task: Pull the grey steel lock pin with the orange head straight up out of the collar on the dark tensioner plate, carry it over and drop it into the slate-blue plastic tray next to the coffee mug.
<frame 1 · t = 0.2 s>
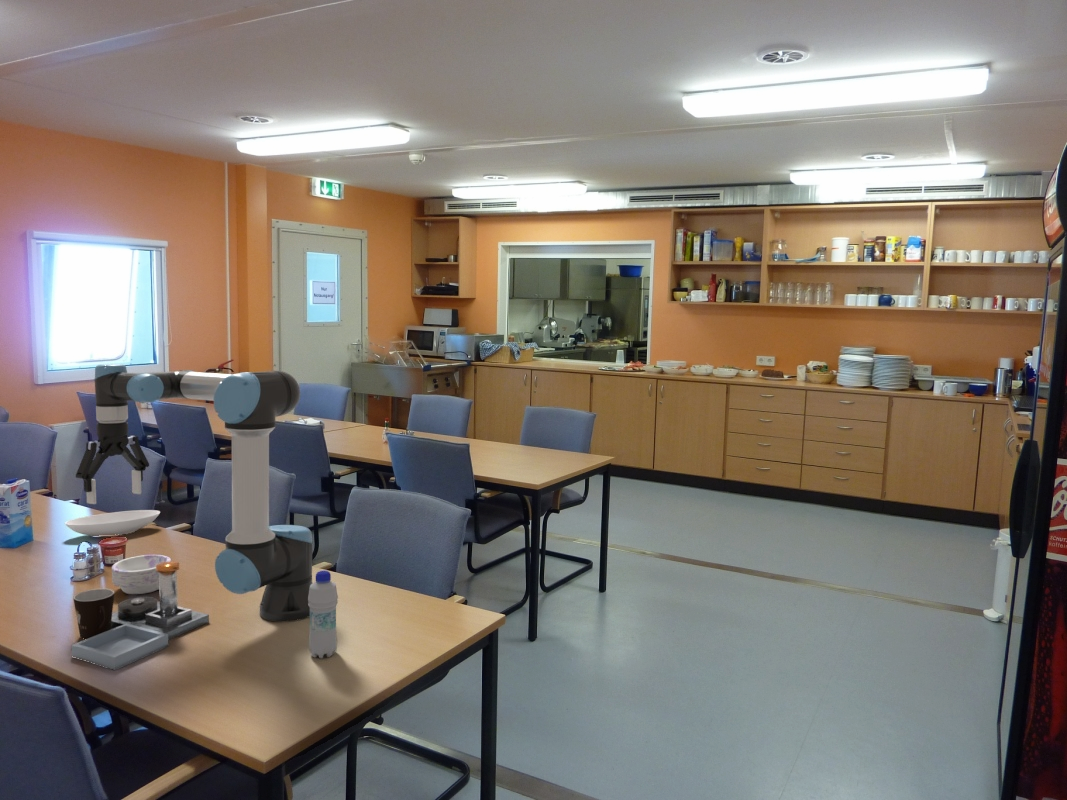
hand: (114, 498, 207), 28 cm above the table, fingers open, 13 cm apart
lock pin: (168, 619, 190), point 2 cm above the table, touching tensioner plate
tray: (121, 651, 176), on the table
paper bowls: (142, 589, 217), on the table
tensioner plate: (154, 623, 193), on the table
coffee mug: (94, 637, 184), on the table
bowl: (114, 534, 270), on the table
bottle: (323, 655, 178), on the table
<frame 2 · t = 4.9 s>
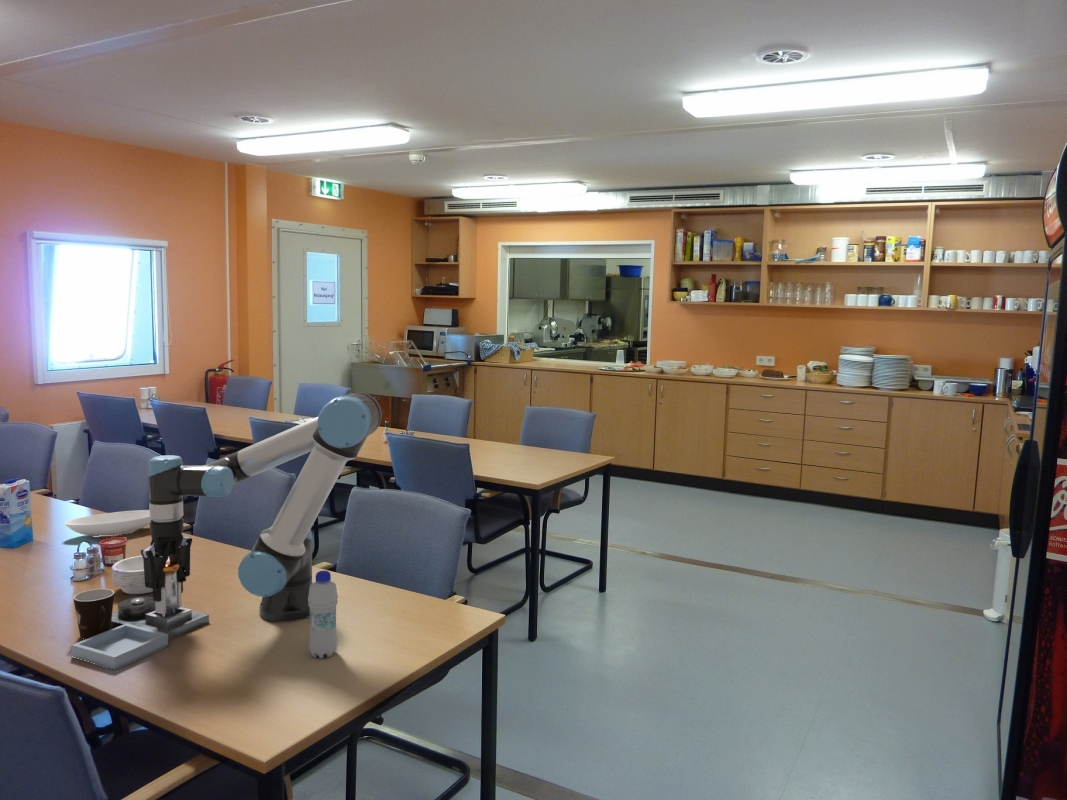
hand: (168, 609, 190), 5 cm above the table, fingers closed on lock pin, 4 cm apart
lock pin: (168, 619, 190), point 2 cm above the table, touching gripper, tensioner plate
everything else where it was.
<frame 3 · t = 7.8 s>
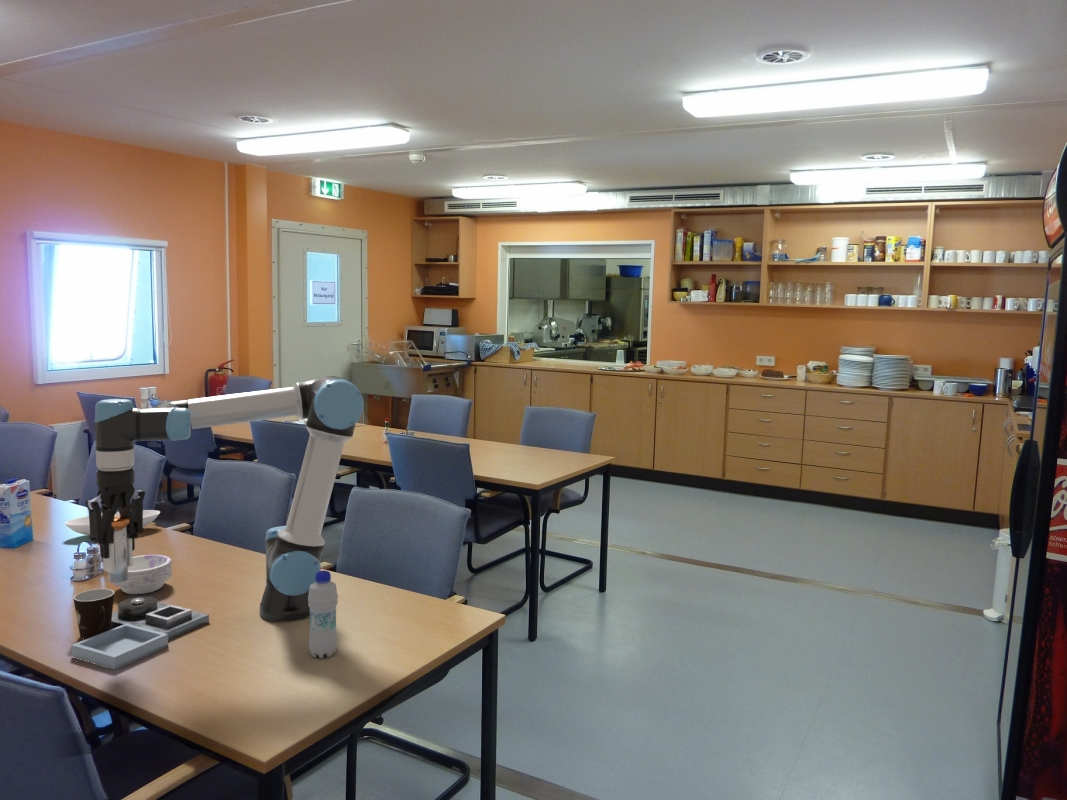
hand: (118, 568, 174), 20 cm above the table, fingers closed on lock pin, 4 cm apart
lock pin: (118, 579, 174), point 17 cm above the table, touching gripper
everything else where it was.
when the fingers open (5 cm above the table, at t = 10.6 s): lock pin stays where it is, resting on tray.
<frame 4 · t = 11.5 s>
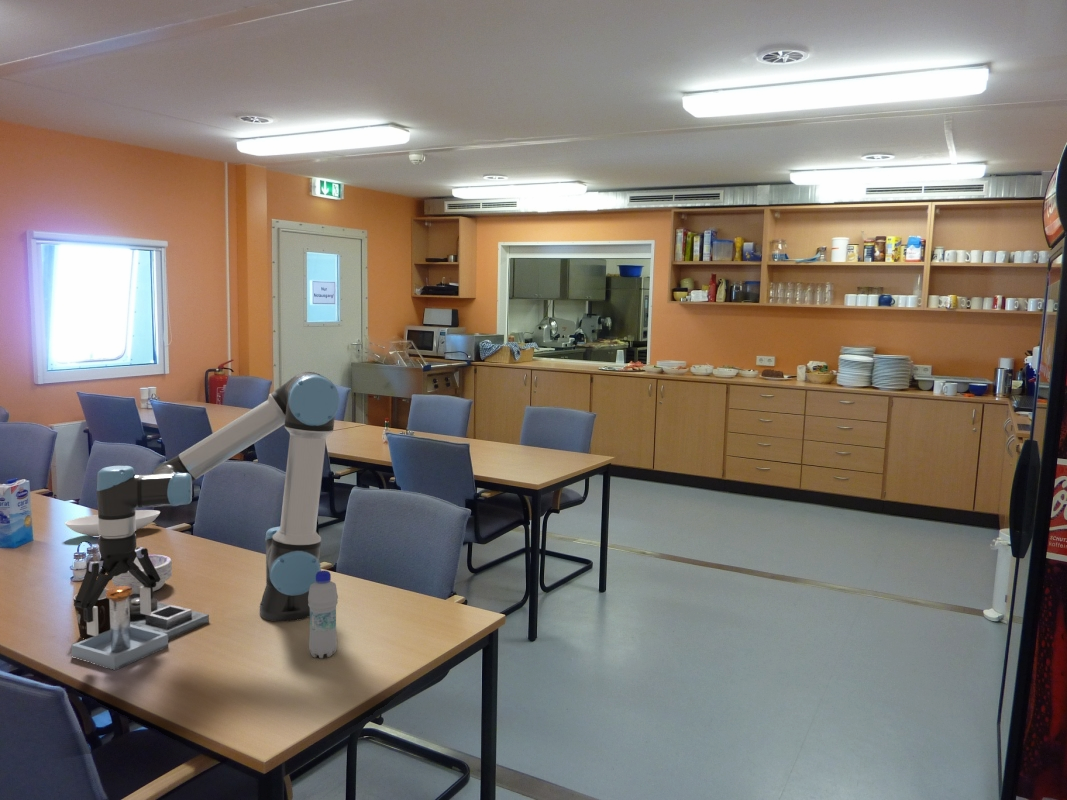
hand: (120, 624, 176), 7 cm above the table, fingers open, 13 cm apart
lock pin: (120, 649, 176), point 1 cm above the table, touching tray
everything else where it was.
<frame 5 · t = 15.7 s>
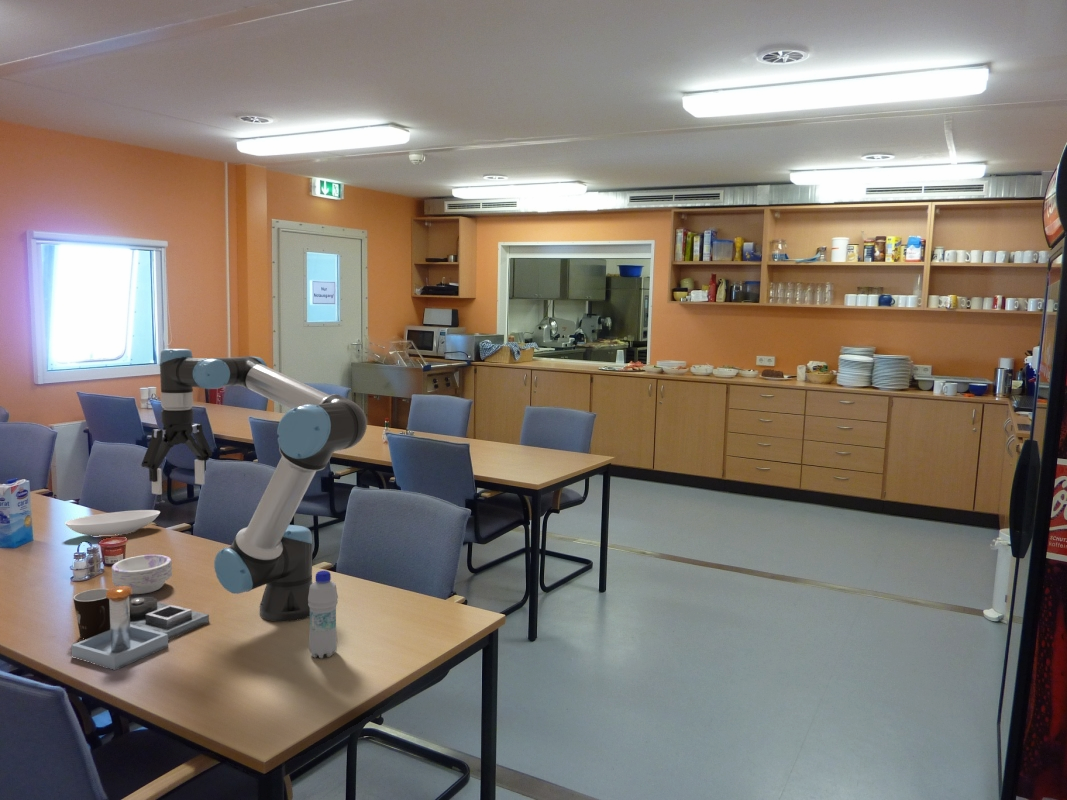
hand: (179, 488, 199), 33 cm above the table, fingers open, 13 cm apart
nothing on the table moved.
at the end: lock pin inside the target area on the tray (0.1 cm from its centre), point 0.6 cm above the tray's base; the gripper is holding nothing; lock pin touching tray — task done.
